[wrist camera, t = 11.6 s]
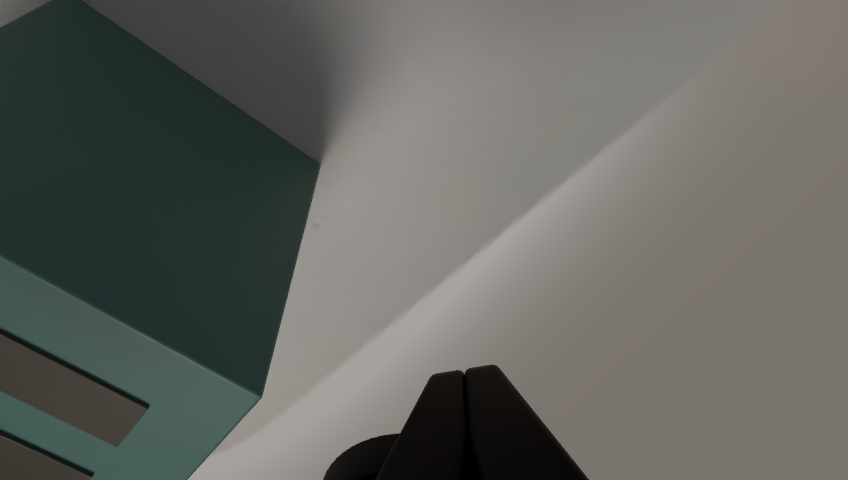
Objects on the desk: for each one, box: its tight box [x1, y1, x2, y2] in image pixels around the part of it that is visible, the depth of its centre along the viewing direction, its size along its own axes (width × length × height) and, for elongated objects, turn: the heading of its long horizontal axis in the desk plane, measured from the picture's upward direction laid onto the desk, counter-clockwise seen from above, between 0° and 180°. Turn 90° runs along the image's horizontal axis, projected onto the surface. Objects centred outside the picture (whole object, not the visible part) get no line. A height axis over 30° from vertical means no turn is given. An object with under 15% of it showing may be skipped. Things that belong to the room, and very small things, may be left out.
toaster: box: [0, 0, 321, 480], centre depth 18 cm, size 8×10×10 cm
